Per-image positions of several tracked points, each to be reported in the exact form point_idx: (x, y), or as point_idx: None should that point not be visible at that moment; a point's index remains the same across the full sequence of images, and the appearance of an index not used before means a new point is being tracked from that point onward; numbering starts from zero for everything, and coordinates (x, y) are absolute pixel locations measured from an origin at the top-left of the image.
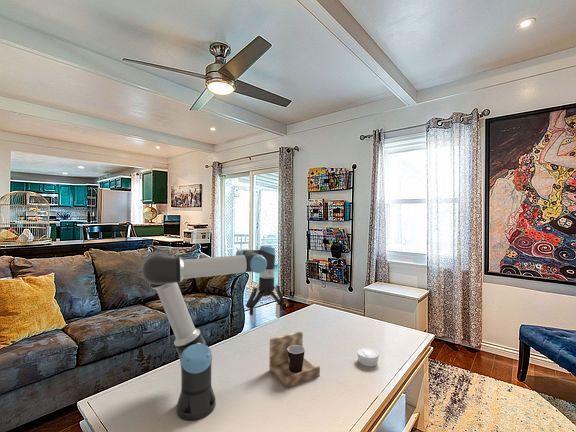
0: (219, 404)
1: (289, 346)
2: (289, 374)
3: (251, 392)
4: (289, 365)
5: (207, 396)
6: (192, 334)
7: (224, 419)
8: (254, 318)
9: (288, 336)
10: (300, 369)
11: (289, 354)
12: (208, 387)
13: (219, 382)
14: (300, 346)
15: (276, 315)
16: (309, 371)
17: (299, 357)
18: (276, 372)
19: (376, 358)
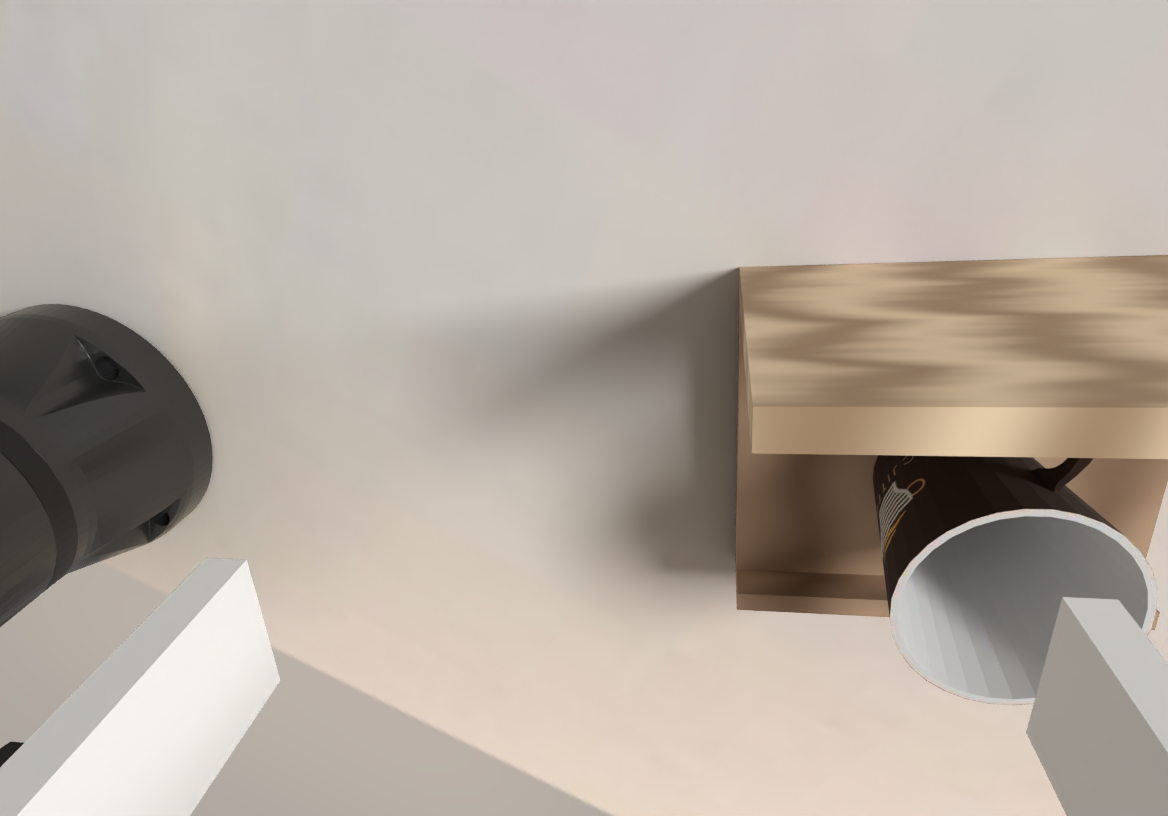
0: (239, 471)
1: (995, 517)
2: (830, 511)
3: (469, 469)
4: (877, 498)
5: (88, 563)
6: None
7: (260, 593)
8: (220, 767)
9: (1128, 451)
10: (956, 548)
11: (887, 598)
12: (50, 584)
13: (250, 224)
14: (1142, 577)
15: (1072, 690)
16: None
17: (967, 656)
18: (739, 426)
19: None
